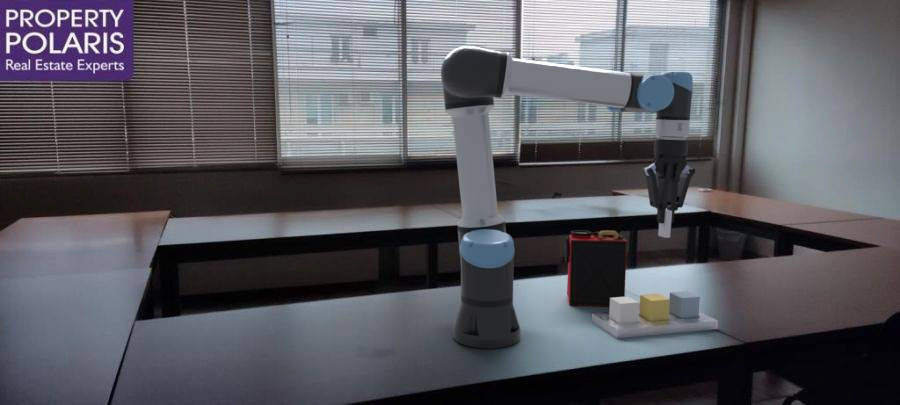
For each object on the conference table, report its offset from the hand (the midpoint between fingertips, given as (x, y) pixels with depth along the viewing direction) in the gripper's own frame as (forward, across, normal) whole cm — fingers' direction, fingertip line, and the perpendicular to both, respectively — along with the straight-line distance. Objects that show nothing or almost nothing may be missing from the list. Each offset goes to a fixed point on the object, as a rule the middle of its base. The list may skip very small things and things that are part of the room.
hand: (664, 236), depth 145 cm
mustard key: (+19, -4, -4) cm, 20 cm away
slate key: (+18, +4, -4) cm, 19 cm away
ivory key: (+19, -12, -5) cm, 23 cm away
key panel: (+21, -4, -4) cm, 21 cm away
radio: (+21, -9, +16) cm, 28 cm away
